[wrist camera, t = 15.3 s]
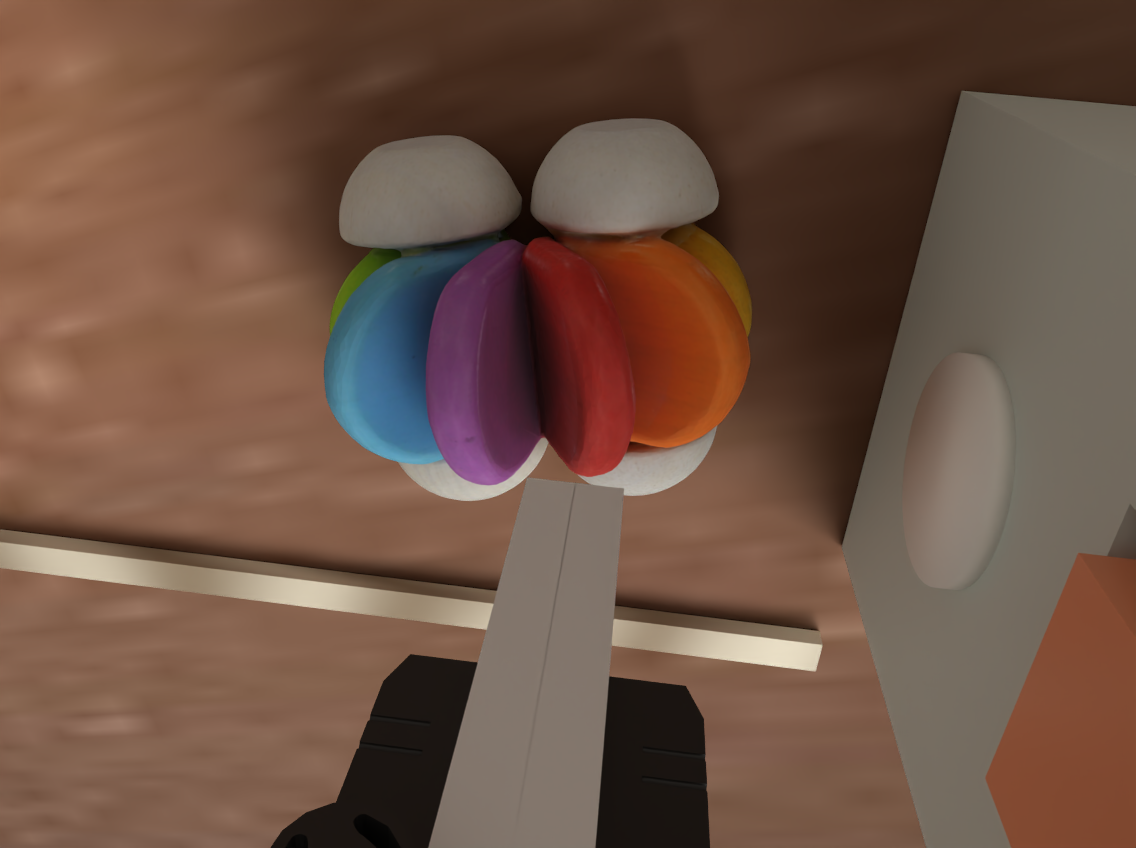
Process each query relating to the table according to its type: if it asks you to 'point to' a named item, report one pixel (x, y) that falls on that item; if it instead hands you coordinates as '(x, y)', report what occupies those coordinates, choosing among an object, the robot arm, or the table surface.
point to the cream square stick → (389, 597)
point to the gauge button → (1076, 720)
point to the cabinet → (998, 434)
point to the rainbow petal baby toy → (538, 312)
